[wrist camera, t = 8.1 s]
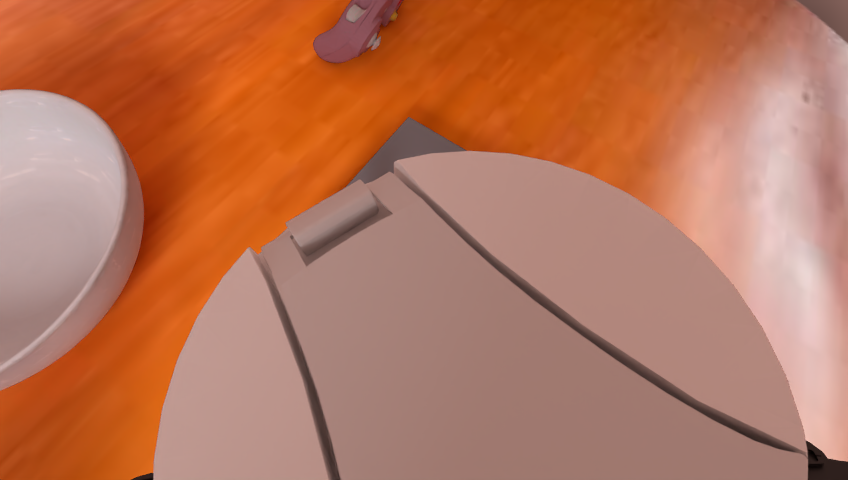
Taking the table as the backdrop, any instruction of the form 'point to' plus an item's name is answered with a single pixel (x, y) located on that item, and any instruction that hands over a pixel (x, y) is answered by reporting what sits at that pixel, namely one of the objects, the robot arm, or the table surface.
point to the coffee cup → (478, 342)
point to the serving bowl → (60, 227)
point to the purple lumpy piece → (356, 30)
